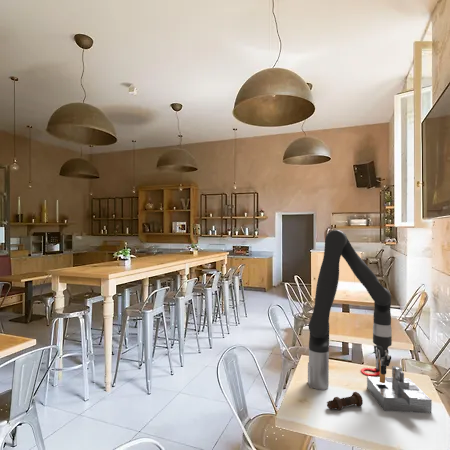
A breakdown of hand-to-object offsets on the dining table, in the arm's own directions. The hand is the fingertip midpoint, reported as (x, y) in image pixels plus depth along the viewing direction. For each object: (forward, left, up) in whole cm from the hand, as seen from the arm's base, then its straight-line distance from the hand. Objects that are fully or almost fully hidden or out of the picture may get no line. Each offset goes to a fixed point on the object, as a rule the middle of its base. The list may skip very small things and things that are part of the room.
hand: (382, 372), depth 144 cm
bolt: (-19, -8, -12) cm, 24 cm away
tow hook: (+4, +26, -12) cm, 29 cm away
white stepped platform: (+6, -2, -12) cm, 14 cm away
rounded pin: (0, 0, -4) cm, 4 cm away
